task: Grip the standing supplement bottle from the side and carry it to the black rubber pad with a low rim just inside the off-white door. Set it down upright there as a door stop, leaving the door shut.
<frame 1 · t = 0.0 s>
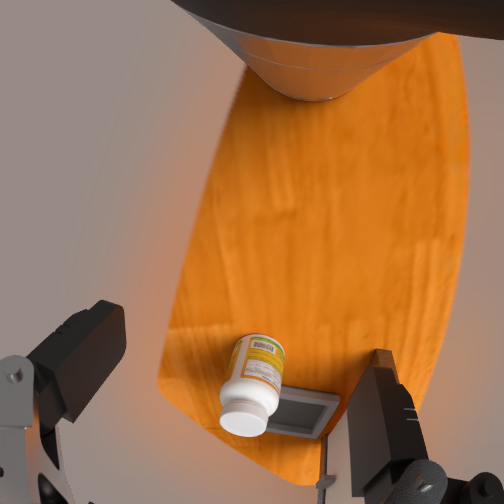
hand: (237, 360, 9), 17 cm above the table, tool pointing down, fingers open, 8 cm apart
door frame: (350, 406, 33), on the table
stop pad: (293, 409, 35), on the table
supplement bottle: (260, 350, 31), on the table
door: (349, 462, 25), point 9 cm above the table, hinge at 0.0°
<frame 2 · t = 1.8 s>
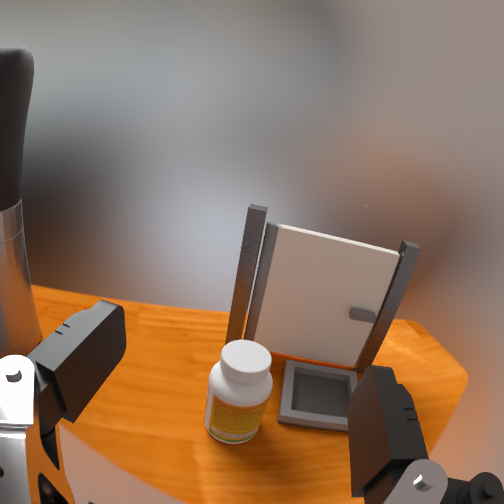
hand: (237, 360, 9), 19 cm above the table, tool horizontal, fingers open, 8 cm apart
door frame: (301, 358, 38), on the table
stop pad: (319, 398, 31), on the table
supplement bottle: (231, 425, 27), on the table
door: (316, 305, 34), point 9 cm above the table, hinge at 0.0°
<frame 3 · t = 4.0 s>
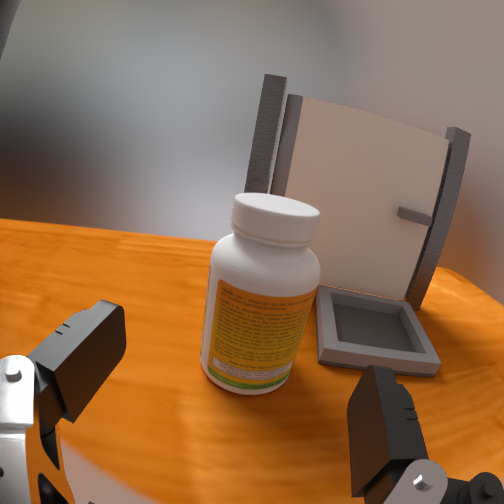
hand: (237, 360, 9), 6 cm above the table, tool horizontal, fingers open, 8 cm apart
door frame: (335, 290, 29), on the table
stop pad: (370, 334, 22), on the table
supplement bottle: (244, 367, 17), on the table
door: (355, 204, 25), point 9 cm above the table, hinge at 0.0°
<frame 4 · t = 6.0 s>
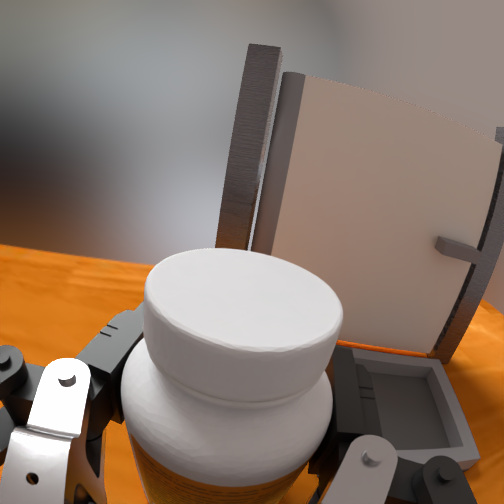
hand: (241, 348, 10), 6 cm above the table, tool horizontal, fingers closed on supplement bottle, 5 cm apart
door frame: (344, 343, 21), on the table
stop pad: (390, 415, 14), on the table
supplement bottle: (209, 488, 10), on the table, touching gripper
door: (380, 232, 17), point 9 cm above the table, hinge at 0.0°
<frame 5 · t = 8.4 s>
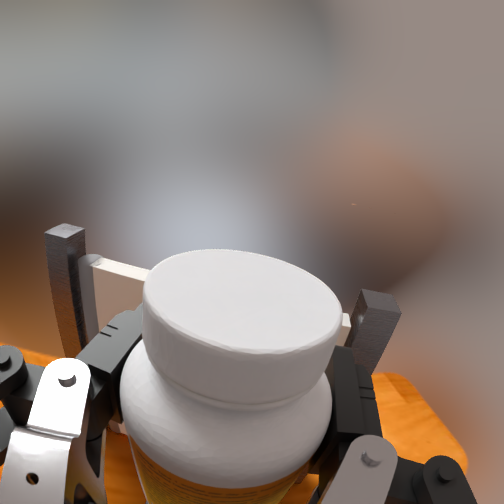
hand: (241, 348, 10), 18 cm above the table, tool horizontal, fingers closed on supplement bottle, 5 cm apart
door frame: (195, 455, 21), on the table
supplement bottle: (208, 489, 10), point 11 cm above the table, touching gripper
door: (190, 401, 17), point 9 cm above the table, hinge at 0.0°
when the fingers open (7 cm above the table, at t = 10.9 s): supplement bottle drops 1 cm, resting on stop pad.
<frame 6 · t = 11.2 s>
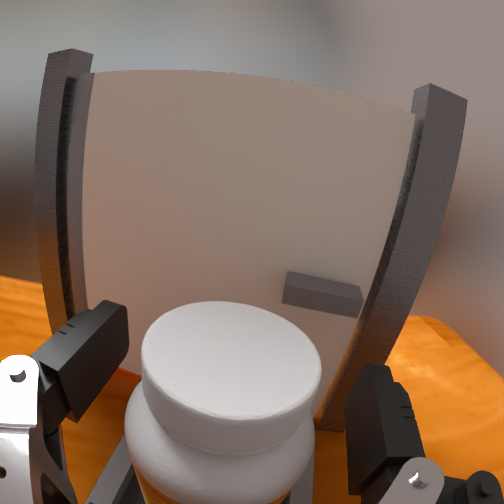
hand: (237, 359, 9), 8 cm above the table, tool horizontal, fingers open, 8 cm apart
door frame: (195, 392, 17), on the table
stop pad: (206, 499, 10), on the table
supplement bottle: (206, 501, 10), resting on stop pad
door: (194, 265, 13), point 9 cm above the table, hinge at 0.0°
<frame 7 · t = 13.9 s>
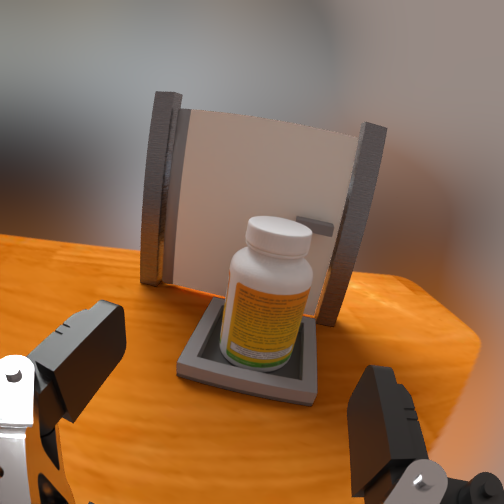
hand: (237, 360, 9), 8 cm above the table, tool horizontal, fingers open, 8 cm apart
door frame: (239, 302, 29), on the table
stop pad: (253, 351, 22), on the table
supplement bottle: (254, 352, 22), resting on stop pad
door: (248, 214, 25), point 9 cm above the table, hinge at 0.0°
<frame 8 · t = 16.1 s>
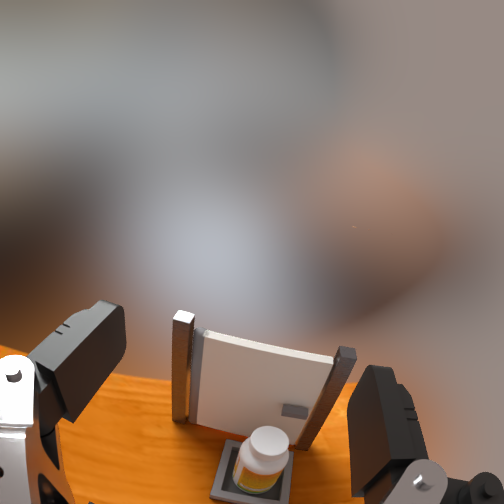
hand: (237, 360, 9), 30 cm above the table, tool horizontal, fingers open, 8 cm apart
door frame: (243, 434, 36), on the table
stop pad: (253, 477, 30), on the table
supplement bottle: (253, 478, 30), resting on stop pad
door: (250, 400, 33), point 9 cm above the table, hinge at 0.0°
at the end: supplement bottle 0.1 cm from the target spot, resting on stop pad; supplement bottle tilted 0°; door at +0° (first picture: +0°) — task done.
